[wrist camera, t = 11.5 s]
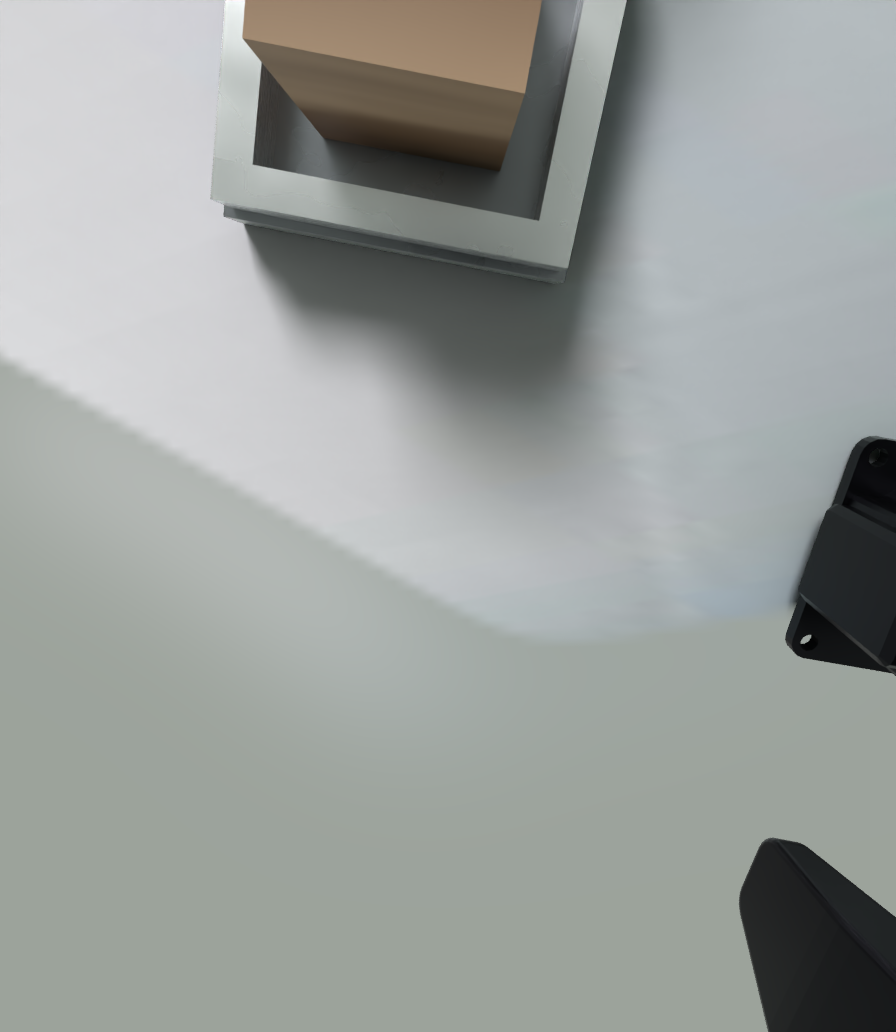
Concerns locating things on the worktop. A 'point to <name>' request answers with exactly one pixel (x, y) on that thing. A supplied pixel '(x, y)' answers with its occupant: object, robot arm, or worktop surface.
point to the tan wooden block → (402, 70)
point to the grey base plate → (425, 160)
